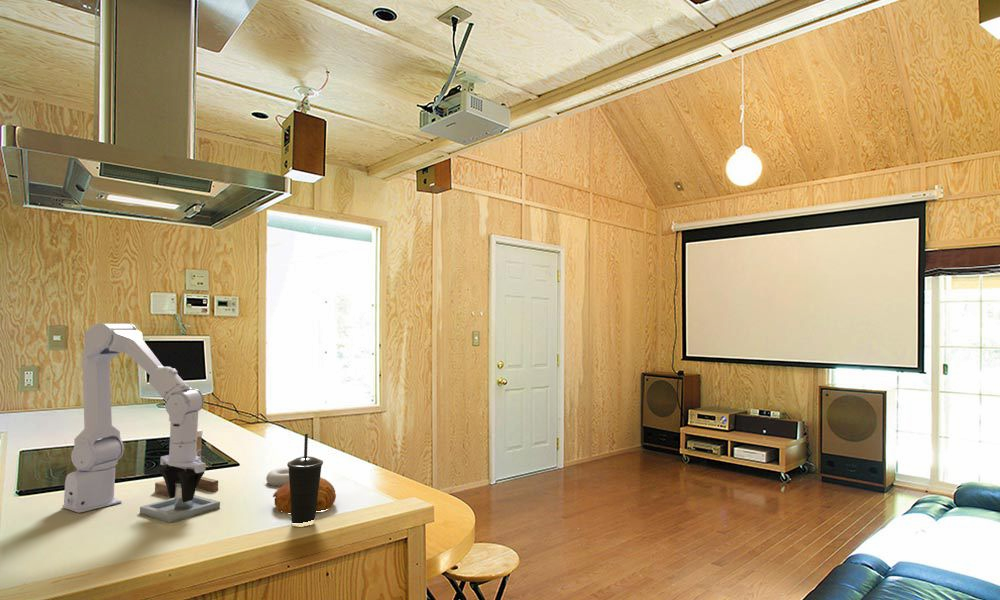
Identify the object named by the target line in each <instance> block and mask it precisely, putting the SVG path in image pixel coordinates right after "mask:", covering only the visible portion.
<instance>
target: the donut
mask: <svg viewBox="0 0 1000 600" xmlns="http://www.w3.org/2000/svg"><path fill="white" fill-rule="evenodd" d="M265 479H266V483H268V485H269V486H270V485H271V486H273V487H282V486H283V485H284V484H286V483H288V482H289V467H279V468H276V469H273V470H271V471H269V472H268V473H267V475H266V478H265Z"/></svg>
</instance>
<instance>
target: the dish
mask: <svg viewBox="0 0 1000 600" xmlns="http://www.w3.org/2000/svg"><path fill="white" fill-rule="evenodd" d="M174 502H175V498H168V499H164V500H161V501H157V502H153V503H150V504H146V505H141V506H139V514H142V515H144V516H147V517H150V518H155V519H157V520H161V521H162V522H163V521H164V522H166V523H170V524H171V523H174V522H178V521H183V520H185V519H189V518H192V517H194V515H195V516H198V515H197V514H199V515H201V513H202V514H205V513H209V512H211V510H212V511H214V509H215V510H218V509H220V507H221V502H220V501H219V500H216V499H215V500H214V499H211V498H208V497H203V496H199V495H195V494H194V502H193V507H192V508H190V509H186V510H175V509H174ZM217 508H218V509H217ZM208 511H209V512H208ZM188 517H189V518H188Z"/></svg>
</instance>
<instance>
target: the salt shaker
mask: <svg viewBox="0 0 1000 600" xmlns="http://www.w3.org/2000/svg"><path fill="white" fill-rule="evenodd" d="M193 502H194V497H193V500H191V501H187V502H183V500H182V490H181V483H180V480H179V481H176V482H175V502H174V509H175V510H186V509H190V508H192V507H193Z"/></svg>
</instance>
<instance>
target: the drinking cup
mask: <svg viewBox="0 0 1000 600" xmlns="http://www.w3.org/2000/svg"><path fill="white" fill-rule="evenodd" d="M308 439H309V434H308V433H305V434H304V445H303V447H304V449H303V450H304V451H303V456H299V457H296V458H294V459H292V460H290V461H288V462H287V463H286V465H287V468H289V483H290V501H291V515H290V519H291V524H292V523H303V522H308V521H311V520H314V519H315V520H316V514H317V513H316V506H317V498H318V490H319V482H320V477H321V474H322V466H323V464H324V461H323V460H322V459H319V458H317V457H314V456H310V455H309V456H308V448H309V447H308V445H309V444H308V443H309V441H308Z"/></svg>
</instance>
